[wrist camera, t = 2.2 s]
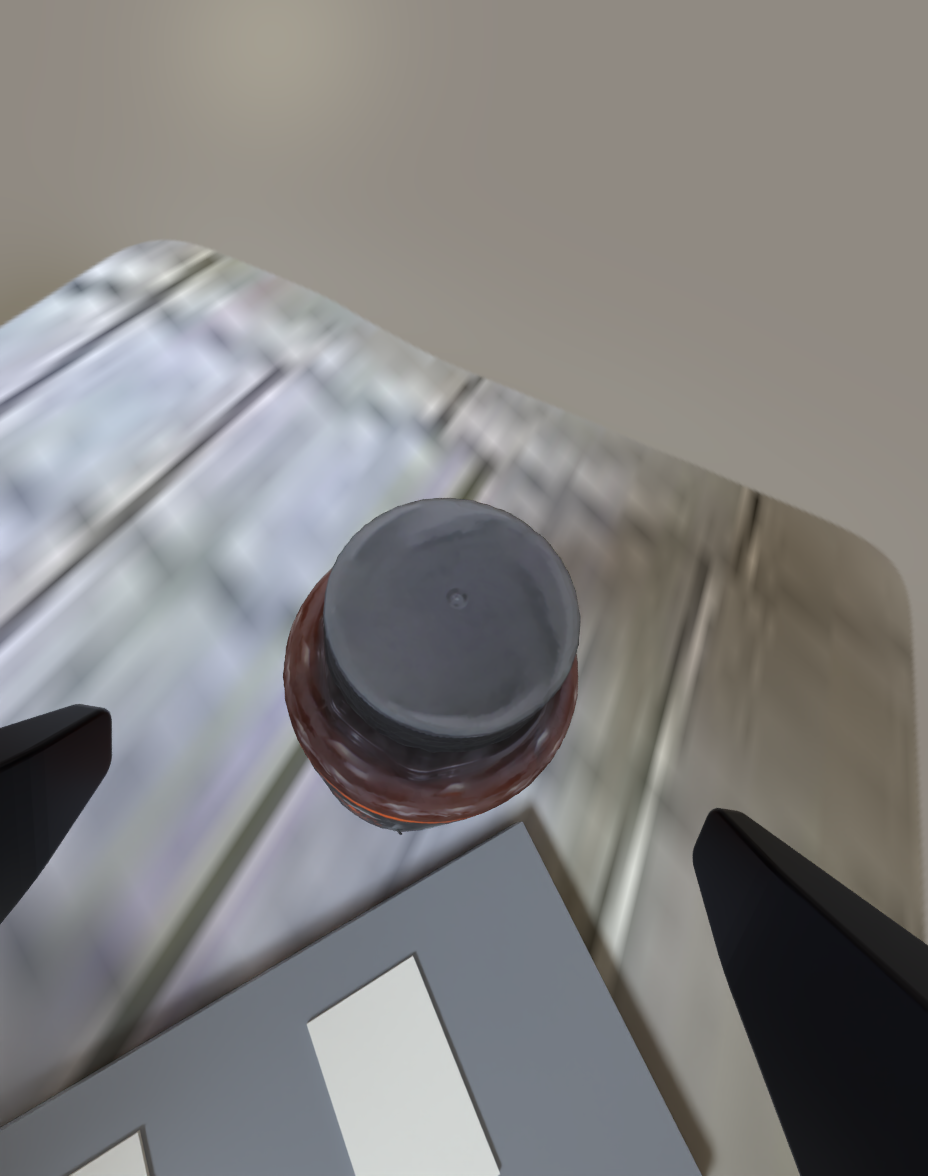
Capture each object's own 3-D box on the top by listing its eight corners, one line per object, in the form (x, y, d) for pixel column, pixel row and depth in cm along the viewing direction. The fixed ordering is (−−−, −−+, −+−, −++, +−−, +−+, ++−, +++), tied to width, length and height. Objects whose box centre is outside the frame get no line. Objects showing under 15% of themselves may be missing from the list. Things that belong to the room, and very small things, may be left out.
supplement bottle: (282, 727, 17) (159, 562, 7) (419, 623, 20) (466, 393, 10) (396, 878, 16) (435, 926, 6) (529, 747, 18) (715, 624, 8)
